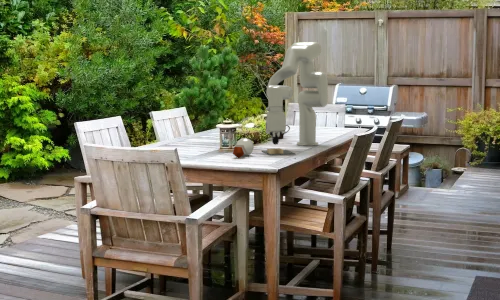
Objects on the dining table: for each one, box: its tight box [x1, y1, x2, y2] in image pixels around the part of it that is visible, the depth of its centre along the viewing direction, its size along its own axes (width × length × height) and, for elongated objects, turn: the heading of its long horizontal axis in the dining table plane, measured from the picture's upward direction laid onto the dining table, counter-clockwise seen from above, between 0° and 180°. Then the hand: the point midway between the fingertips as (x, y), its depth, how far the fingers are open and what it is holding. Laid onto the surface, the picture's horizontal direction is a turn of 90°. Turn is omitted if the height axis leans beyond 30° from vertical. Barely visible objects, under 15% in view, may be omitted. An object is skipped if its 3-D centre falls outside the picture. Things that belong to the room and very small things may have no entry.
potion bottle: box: [232, 137, 255, 159], centre depth 369 cm, size 9×10×15 cm
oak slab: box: [266, 147, 284, 154], centre depth 377 cm, size 7×2×6 cm
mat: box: [261, 149, 296, 156], centre depth 382 cm, size 16×14×1 cm
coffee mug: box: [275, 124, 291, 140], centre depth 448 cm, size 12×9×10 cm
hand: (275, 144), depth 380 cm, fingers closed
